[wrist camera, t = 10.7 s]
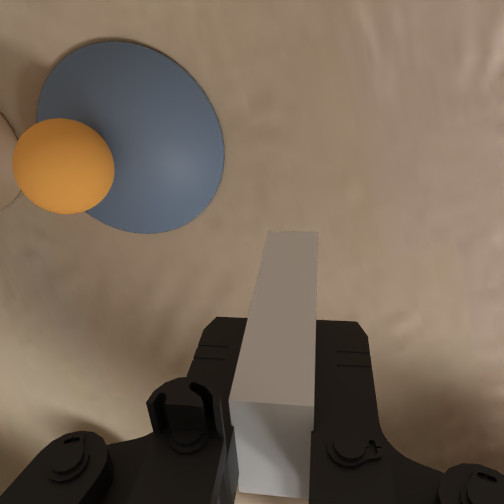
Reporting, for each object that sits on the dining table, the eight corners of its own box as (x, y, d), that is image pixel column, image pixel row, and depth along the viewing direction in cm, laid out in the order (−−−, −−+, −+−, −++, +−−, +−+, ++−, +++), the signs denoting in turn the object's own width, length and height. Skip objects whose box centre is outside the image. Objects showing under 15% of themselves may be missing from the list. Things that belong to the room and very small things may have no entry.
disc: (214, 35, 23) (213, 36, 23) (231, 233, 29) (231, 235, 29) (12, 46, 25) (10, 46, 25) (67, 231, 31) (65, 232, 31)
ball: (96, 107, 28) (101, 112, 23) (121, 190, 30) (130, 210, 25) (3, 125, 26) (-13, 134, 21) (36, 211, 28) (29, 236, 24)
